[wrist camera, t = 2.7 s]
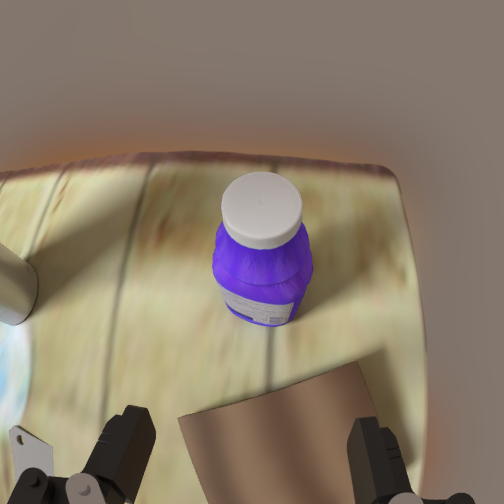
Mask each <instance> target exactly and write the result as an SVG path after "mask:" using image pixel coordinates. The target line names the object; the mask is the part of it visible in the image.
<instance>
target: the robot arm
mask: <svg viewBox="0 0 504 504" xmlns="http://www.w3.org/2000/svg"><path fill="white" fill-rule="evenodd" d="M37 289H38V281H37V275H36V272H35V270H34V268H33V267H32V266H31V265H30V264H29V263H27V262H26V261H24V260H23V259H21V258H20V257H19V256H17V255H16V254H15V253H13V252H12V251H11V250H9V249H8V248H7V247H5V246H4V245H3V244H1V243H0V321H2V322H4V323H6V324H9V325H16V324H19V323H21V322H22V321H23V320H24V319H25V318H26V317H27V316H28V315H29V313H30V312H31V310H32V308H33V306H34V303H35V300H36V296H37ZM155 439H156V430H155V427H154V425H153V422H152V419H151V417H150V414H149V411H148V409H147V408H144V407H138V406H133V405H128V406H127V407H126V408H125V410H124V412H123V415H122V416H121V415H117V414H116V415H115V416H114V417H112V418H111V419H110V420H109V421H108V422H107V423H106V425H105V427H104V429H103V431H102V434H101V435H100V437H99V439H98V442H97V443H96V445H95V447H94V449H93V451H92V453H91V455H90V457H89V459H88V461H87V463H86V466H85V468H84V469H83V471H82V472H81V473H77V474H74V475H72V476H71V477H70V478H62V477H53V476H47V475H46V474H45V473H44V472H43V471H42V470H41V469H39V468H35V467H31V468H28V469H26V470H24V471H23V472H22V474H21V475H20V477H19V479H18V481H17V484H16V486H15V488H14V490H13V492H12V494H11V496H10V499H9V501H8V503H7V504H124V503H125V502H126V503H130V504H134V502H135V499H136V496H137V493H138V490H139V487H140V484H141V481H142V478H143V475H144V472H145V469H146V466H147V463H148V461H149V458H150V455H151V452H152V449H153V446H154V443H155ZM347 455H348V461H349V467H350V473H351V479H352V486H353V492H354V499H355V504H475V502H474V500H473V498H472V497H471V496H470V495H468V494H466V493H457V494H454V495H453V496H451V497H450V498H449V499H447V500H426V499H423V498H420V497H419V496H417V495H416V494H415V493H414V492H413V490H412V488H411V486H410V482H409V479H408V475H407V472H406V468H405V465H404V461H403V458H402V457H401V456H402V455H401V452H400V449H399V445H398V442H397V439H396V436H395V435H394V434H393V433H392V432H391V430H390V429H389V428H388V427H385V428H380V426H379V423H378V420H377V418H376V416H369V417H360V418H356V419H355V421H354V424H353V427H352V429H351V432H350V434H349V437H348V440H347Z"/></svg>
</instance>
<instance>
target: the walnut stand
mask: <svg viewBox="0 0 504 504" xmlns="http://www.w3.org/2000/svg"><path fill="white" fill-rule="evenodd" d="M369 416H376V418H377V420H378V417H377V414H376V412H375V409H374V406H373V403H372V400H371V397H370V394H369V392H368V389H367V386H366V383H365V380H364V378H363V375H362V372H361V370H360V367H359V364H358V362H357V361H354V362H351V363H347V364H345V365H343V366H340V367H338V368H335V369H333V370H330V371H328V372H325V373H323V374H320V375H318V376H315V377H312V378H310V379H307V380H304V381H302V382H299V383H296V384H293V385H290V386H288V387H285V388H282V389H279V390H276V391H273V392H270V393H266V394H263V395H260V396H257V397H254V398H250V399H247V400H243V401H240V402H236V403H233V404H229V405H225V406H222V407H218V408H214V409H210V410H206V411H202V412H197V413H193V414H189V415H185V416H182V417H179V418H177V419H178V422H179V425H180V428H181V431H182V434H183V437H184V440H185V443H186V446H187V449H188V452H189V455H190V457H191V460H192V463H193V466H194V468H195V471H196V474H197V476H198V479H199V481H200V484H201V486H202V489H203V491H204V494H205V496H206V498H207V501H208V503H209V504H355V499H354V492H353V486H352V479H351V473H350V467H349V461H348V455H347V440H348V437H349V434H350V432H351V429H352V427H353V424H354V421H355V419H356V418H360V417H369ZM378 423H379V420H378ZM379 426H380V423H379ZM380 428H381V426H380Z"/></svg>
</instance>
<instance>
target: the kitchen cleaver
mask: <svg viewBox="0 0 504 504" xmlns="http://www.w3.org/2000/svg"><path fill="white" fill-rule="evenodd" d="M9 435H10V440H11V445H12V451H13V459H14V467H15V478H16V484H17V481H18V479H19V477H20V475H21V474H22V472H23V471H24V470H26V469H28V468H31V467H35V468H39V469H41V470H42V471H43V472H44V473H45V474H46V475H47V476H53V477H54V463H53V447H52V446H50V445H48V444H47V443H45V442H43V441H41V440H40V439H38V438H36V437H34V436H33V435H31V434H29V433H28V432H26V431H25V430H23V429H22V428H20V427H18V426H13V427H12V428H11V429H10V430H9ZM20 435H21V436H22V437H23V439H24V444H22V443H21V442H20V439H19V437H20Z"/></svg>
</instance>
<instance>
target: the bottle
mask: <svg viewBox="0 0 504 504" xmlns="http://www.w3.org/2000/svg"><path fill="white" fill-rule="evenodd" d="M302 209H303V202H302V197H301V195H300V192H299V190H298V189H297V187H296V186H295V185H294V184H293V183H292V182H291V181H289V180H288V179H287V178H285V177H283V176H281V175H279V174H276V173H272V172H265V171H257V172H251V173H247V174H244V175H242V176H240V177H238V178H237V179H235V180H234V181H233V182H232V183H231V184H230V185H229V186H228V187H227V189H226V190H225V192H224V194H223V197H222V201H221V210H222V216H223V222H222V223H221V225H220V226H219V228H218V231H217V233H216V248H215V251H214V253H213V265H212V268H213V274H214V276H215V279H216V281H217V284H218V286H219V288H220V291H221V293H222V295H223V298H224V300H225V302H226V305H227V307H228V308H229V310H230V311H231V312H232V313H233V314H235V315H236V316H238V317H240V318H242V319H244V320H246V321H248V322H251V323H254V324H258V325H262V326H270V327H276V326H281V325H284V324H286V323H287V322H289V321H290V320H291V319H292V318H293V317H294V315H295V313H296V311H297V309H298V306H299V304H300V302H301V300H302V298H303V295H304V293H305V290H306V288H307V285H308V284H309V283H310V280H311V276H312V272H313V265H312V255H311V251H310V249H309V238H308V234H307V231H306V228H305V226H304V224H303V223H302Z"/></svg>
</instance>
